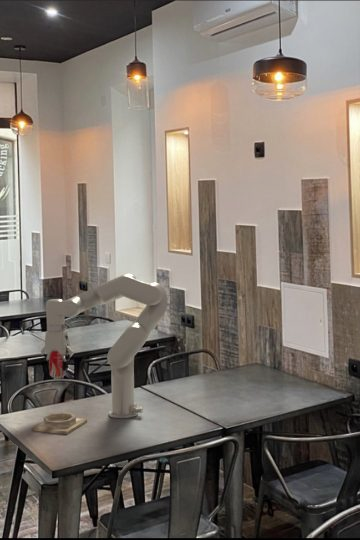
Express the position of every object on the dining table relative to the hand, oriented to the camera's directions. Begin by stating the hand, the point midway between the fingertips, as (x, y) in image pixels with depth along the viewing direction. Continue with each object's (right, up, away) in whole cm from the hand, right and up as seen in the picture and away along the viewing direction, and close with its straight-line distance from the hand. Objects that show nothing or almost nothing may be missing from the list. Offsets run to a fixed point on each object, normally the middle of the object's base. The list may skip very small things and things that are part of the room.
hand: (58, 369), depth 281 cm
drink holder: (+3, -21, -14) cm, 26 cm away
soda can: (0, -3, 0) cm, 3 cm away
